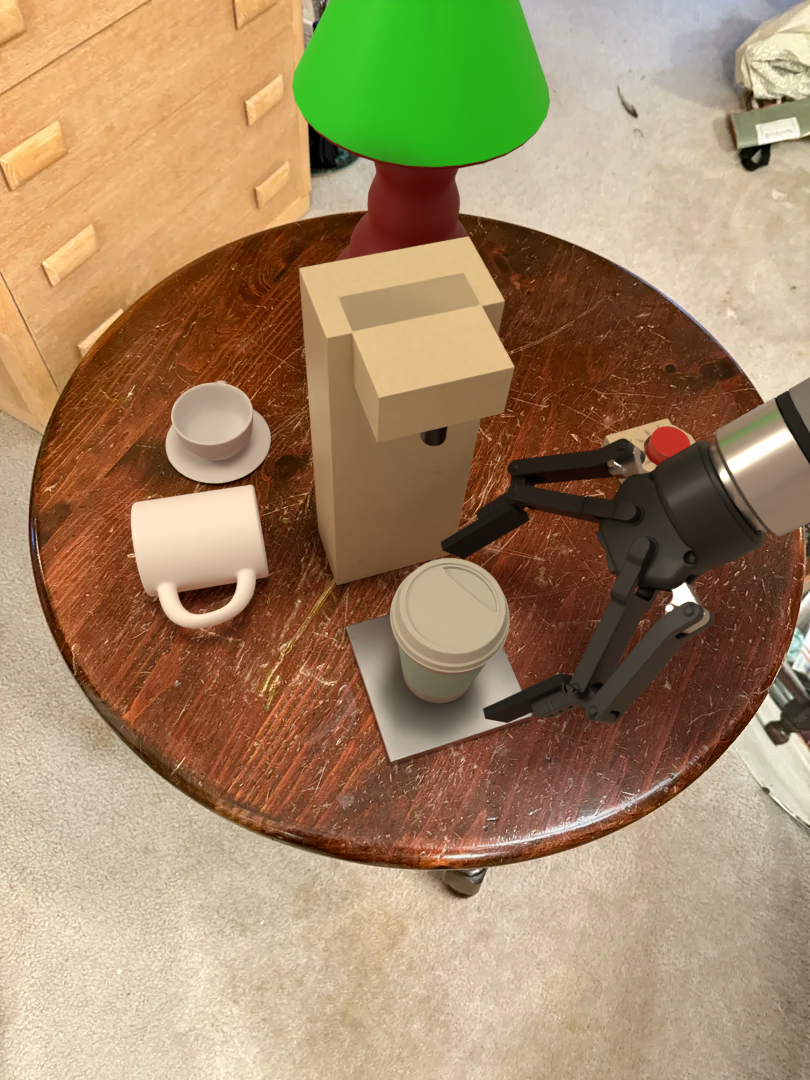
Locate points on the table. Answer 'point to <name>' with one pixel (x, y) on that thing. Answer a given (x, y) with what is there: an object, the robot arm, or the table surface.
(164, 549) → the mug
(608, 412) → the table surface
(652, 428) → the control block
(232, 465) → the teacup
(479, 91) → the table lamp
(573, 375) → the table surface
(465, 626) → the coffee cup
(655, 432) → the red push button
